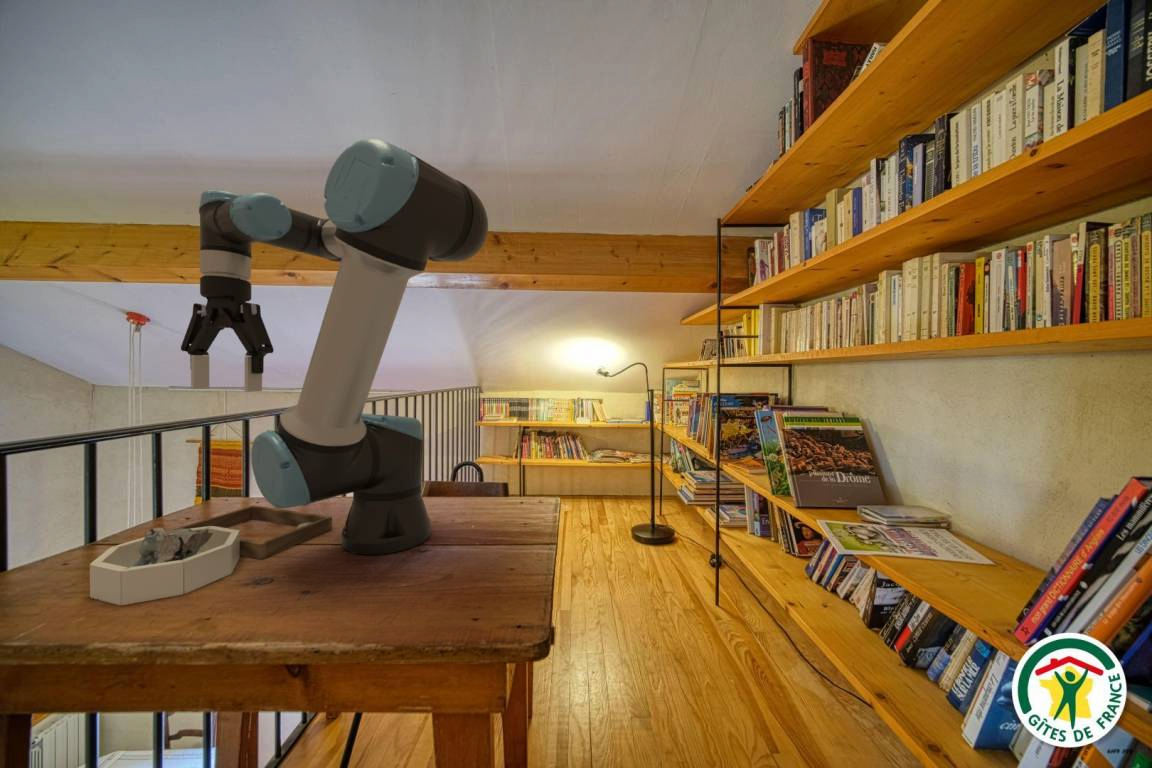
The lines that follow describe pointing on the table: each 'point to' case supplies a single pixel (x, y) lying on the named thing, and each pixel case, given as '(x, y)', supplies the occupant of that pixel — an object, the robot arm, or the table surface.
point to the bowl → (162, 570)
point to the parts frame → (272, 515)
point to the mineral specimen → (170, 545)
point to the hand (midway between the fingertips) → (226, 390)
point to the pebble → (303, 524)
